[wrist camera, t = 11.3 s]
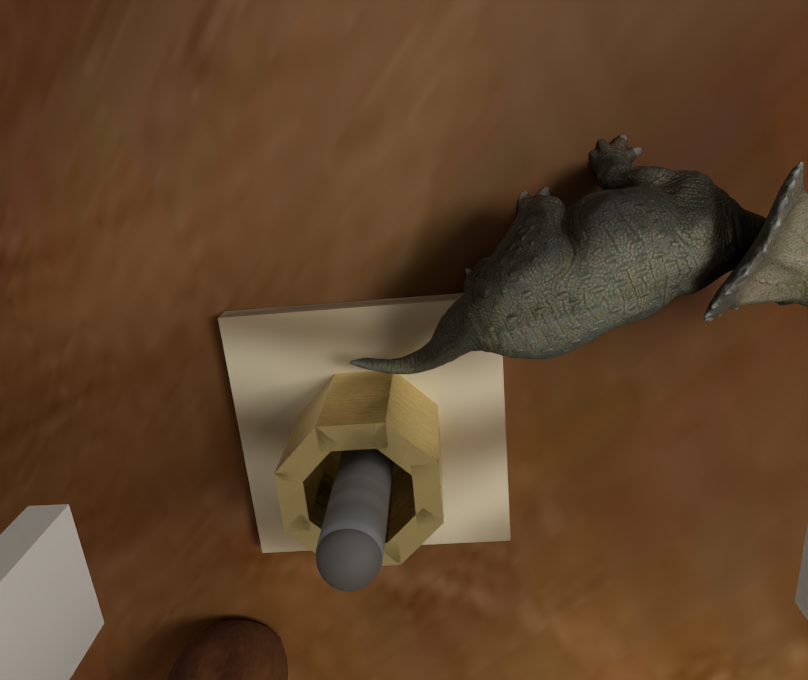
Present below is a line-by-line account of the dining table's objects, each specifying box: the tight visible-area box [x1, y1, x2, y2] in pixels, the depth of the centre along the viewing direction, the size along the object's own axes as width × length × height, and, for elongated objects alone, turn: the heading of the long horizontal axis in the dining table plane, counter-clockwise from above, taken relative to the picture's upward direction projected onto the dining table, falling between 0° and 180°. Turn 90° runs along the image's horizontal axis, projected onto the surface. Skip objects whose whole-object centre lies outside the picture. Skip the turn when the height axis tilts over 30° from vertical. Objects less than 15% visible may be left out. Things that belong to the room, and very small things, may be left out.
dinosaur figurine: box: [349, 134, 808, 374], centre depth 27 cm, size 22×8×11 cm, turn 102°
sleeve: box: [274, 371, 444, 566], centre depth 32 cm, size 7×7×6 cm
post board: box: [218, 293, 510, 591], centre depth 30 cm, size 14×14×12 cm
